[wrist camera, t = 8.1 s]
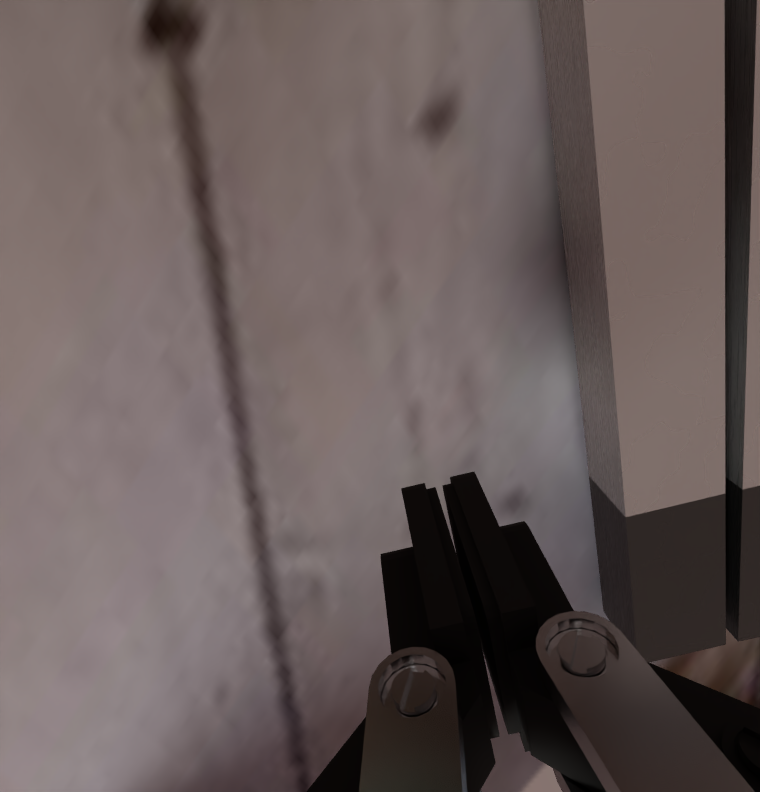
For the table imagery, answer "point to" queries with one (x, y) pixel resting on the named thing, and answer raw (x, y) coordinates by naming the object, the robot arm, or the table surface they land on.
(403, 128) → the table surface
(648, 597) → the tongs arm
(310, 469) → the table surface
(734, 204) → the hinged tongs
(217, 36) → the table surface
